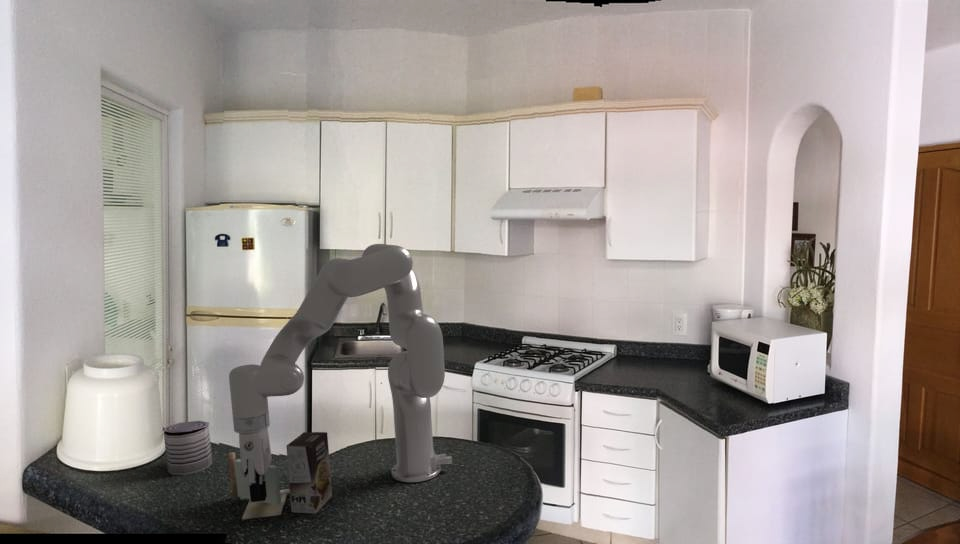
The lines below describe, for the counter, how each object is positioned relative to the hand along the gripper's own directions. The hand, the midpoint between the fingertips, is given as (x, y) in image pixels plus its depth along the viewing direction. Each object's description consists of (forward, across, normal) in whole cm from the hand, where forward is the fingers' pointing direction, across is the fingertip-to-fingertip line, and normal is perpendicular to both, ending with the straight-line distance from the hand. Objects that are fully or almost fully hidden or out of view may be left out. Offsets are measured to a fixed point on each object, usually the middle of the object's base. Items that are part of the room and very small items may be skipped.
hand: (258, 499), depth 144 cm
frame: (+5, +12, 0) cm, 13 cm away
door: (+4, +8, +2) cm, 9 cm away
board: (+5, +6, 0) cm, 7 cm away
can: (+5, +36, +25) cm, 44 cm away
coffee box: (+5, +4, -11) cm, 13 cm away
